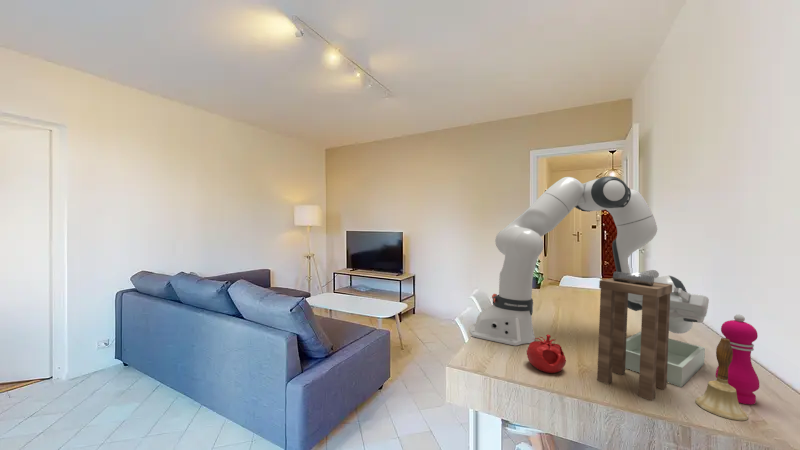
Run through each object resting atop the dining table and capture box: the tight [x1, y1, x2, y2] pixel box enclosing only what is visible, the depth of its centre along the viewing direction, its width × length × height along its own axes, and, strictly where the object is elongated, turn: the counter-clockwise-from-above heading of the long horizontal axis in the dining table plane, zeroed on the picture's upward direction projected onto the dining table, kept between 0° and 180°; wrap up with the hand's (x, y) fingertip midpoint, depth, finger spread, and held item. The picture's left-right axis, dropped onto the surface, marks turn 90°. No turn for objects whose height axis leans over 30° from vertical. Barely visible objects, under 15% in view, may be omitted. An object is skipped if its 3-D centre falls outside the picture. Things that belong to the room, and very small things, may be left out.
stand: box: [596, 277, 672, 402], centre depth 81 cm, size 12×12×26 cm
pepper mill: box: [715, 314, 761, 406], centre depth 76 cm, size 7×7×20 cm
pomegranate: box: [526, 334, 567, 374], centre depth 88 cm, size 10×10×9 cm
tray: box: [625, 331, 706, 388], centre depth 94 cm, size 25×16×5 cm, turn 126°
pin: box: [612, 269, 660, 286], centre depth 84 cm, size 17×8×2 cm, turn 126°
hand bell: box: [694, 337, 749, 422], centre depth 70 cm, size 8×8×16 cm
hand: (656, 287), depth 91 cm, fingers open, 8 cm apart
